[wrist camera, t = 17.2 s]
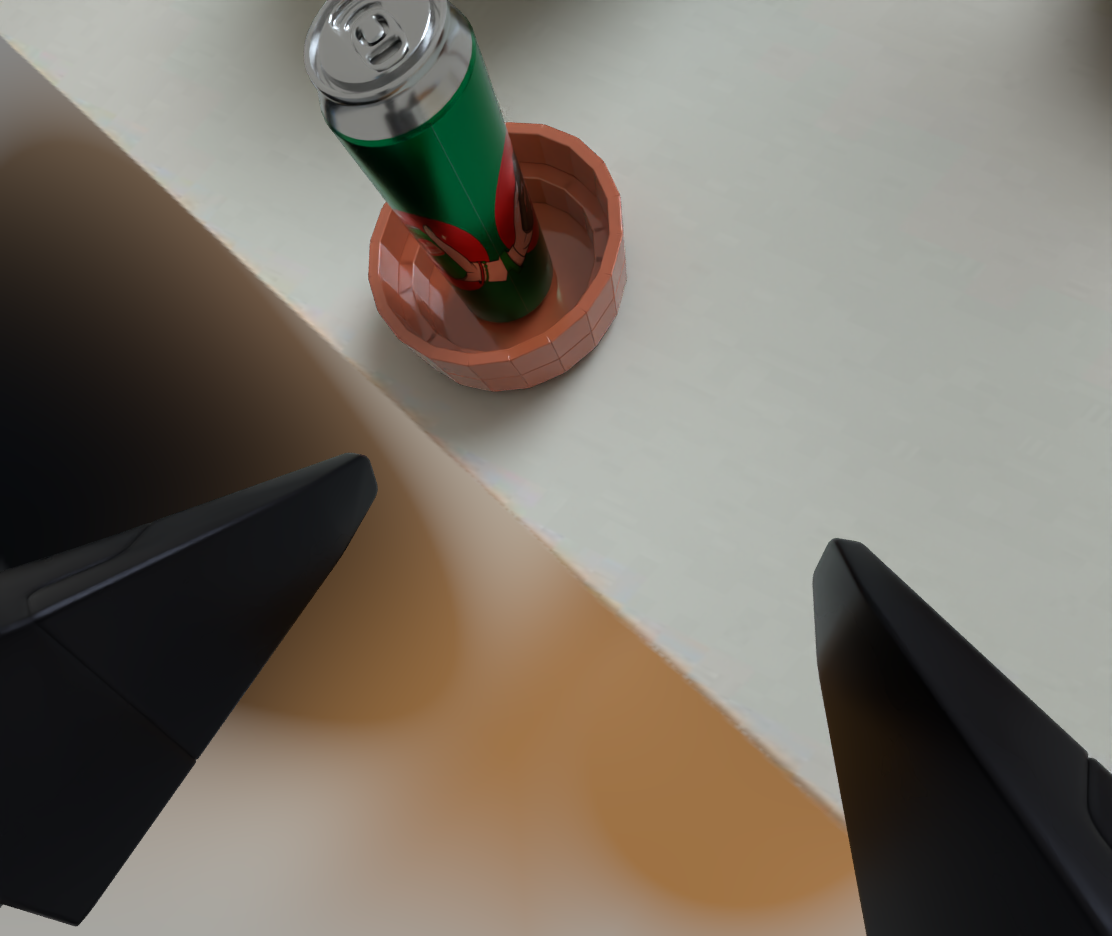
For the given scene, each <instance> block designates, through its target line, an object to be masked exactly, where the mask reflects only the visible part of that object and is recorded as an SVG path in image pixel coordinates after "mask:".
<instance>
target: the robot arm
mask: <svg viewBox="0 0 1112 936" xmlns="http://www.w3.org/2000/svg"><path fill="white" fill-rule="evenodd" d="M377 490H378V488H377V482H376V479H375V476H374V473H373V469H372V466H371V463H370V460H369V459H368V458H367V457H366V456H365V455H361V454H355V453H345V454H342V455H339V456H336V457H333V458H331V459H328V460H325V461H322V462H319V463H317V464H314V465H311V466H308V467H305V468H302V469H300V470H297V471H294V472H291V473H288V474H285V475H283V476H280V477H277V478H274V479H271V480H269V481H266V482H263V483H260V484H257V485H255V486H252V487H249V488H246V489H243V490H241V491H238V492H235V493H232V494H229V495H226V496H223V497H221V498H218V499H215V500H212V501H209V502H207V503H204V504H201V505H198V506H195V507H192V508H190V509H187V510H184V511H181V512H178V513H175V514H172V515H170V516H167V517H164V518H161V519H158V520H156V521H154V522H152V523H151V524H150V523H147V524H144V525H141V526H138V527H136V528H133V529H130V530H127V531H125V532H122V533H118V534H116V535H113V536H110V537H107V538H104V539H101V540H98V541H96V542H92V543H89V544H86V545H83V546H80V547H77V548H74V549H71V550H68V551H64V552H61V553H58V554H55V555H52V556H49V557H46V558H43V559H40V560H36V561H33V562H30V563H27V564H23V565H20V566H17V567H14V568H10V569H7V570H4V571H1V572H0V907H1V906H2V905H3V904H4V905H7V906H11V907H14V908H17V909H20V910H23V911H27V912H30V913H33V914H36V915H40V916H43V917H46V918H50V919H53V920H56V921H59V922H63V923H66V924H69V925H72V926H78V925H79V924H80V923H81V922H82V921H83V920H84V918H85V917H86V916H87V915H88V914H89V912H90V911H91V910H92V908H93V907H94V906H95V904H96V903H97V902H98V900H99V899H100V897H101V896H102V894H103V893H104V891H105V890H106V889H107V887H108V886H109V884H110V883H111V882H112V880H113V879H114V878H115V876H116V875H117V873H118V872H119V870H120V869H121V868H122V866H123V865H124V863H125V862H126V861H127V859H128V858H129V856H130V855H131V853H132V852H133V851H134V849H135V848H136V846H137V845H138V844H139V842H140V841H141V839H142V838H143V836H144V835H145V834H146V832H147V831H148V829H149V828H150V827H151V825H152V824H153V822H154V821H155V820H156V818H157V817H158V815H159V814H160V812H161V811H162V810H163V808H164V807H165V805H166V804H167V803H168V801H169V800H170V798H171V797H172V796H173V794H174V793H175V791H176V790H177V788H178V787H179V786H180V784H181V783H182V781H183V780H184V778H185V777H186V776H187V774H188V773H189V771H190V770H191V769H192V767H193V766H194V764H195V763H196V759H198V758H199V756H200V755H201V754H202V752H203V751H204V750H205V748H206V747H207V745H208V744H209V743H210V741H211V740H212V738H213V737H214V736H215V734H216V733H217V731H218V730H219V729H220V727H221V726H222V724H223V723H224V722H225V720H226V719H227V717H228V716H229V714H230V713H231V712H232V710H233V709H234V707H235V706H236V704H237V703H238V702H239V700H240V699H241V698H242V696H243V695H244V693H245V692H246V690H247V689H248V688H249V686H250V685H251V683H252V682H253V681H254V679H255V678H256V676H257V675H258V674H259V672H260V671H261V669H262V668H263V667H264V665H265V664H266V662H267V661H268V659H269V658H270V656H271V655H272V654H273V652H274V651H275V650H276V648H277V647H278V645H279V644H280V643H281V641H282V640H283V638H284V637H285V635H286V634H287V633H288V631H289V630H290V628H291V627H292V626H293V624H294V623H295V621H296V620H297V618H298V617H299V615H300V614H301V613H302V611H303V610H304V608H305V607H306V606H307V604H308V603H309V602H310V600H311V599H312V597H313V596H314V594H315V593H316V592H317V590H318V589H319V587H320V586H321V585H322V583H323V582H324V580H325V579H326V578H327V576H328V575H329V573H330V572H331V571H332V569H333V568H334V566H335V565H336V563H337V562H338V560H339V559H340V558H341V556H342V555H343V553H344V551H345V550H346V548H347V546H348V545H349V543H350V541H351V539H352V538H353V536H354V534H355V532H356V531H357V529H358V527H359V525H360V523H361V522H362V520H363V518H364V517H365V515H366V513H367V511H368V510H369V508H370V506H371V504H372V502H373V500H374V499H375V497H376V494H377ZM813 601H814V619H815V637H816V654H817V666H818V673H819V679H820V685H821V690H822V696H823V701H824V707H825V712H826V718H827V723H828V728H829V734H830V739H831V745H832V750H833V756H834V761H835V766H836V772H837V777H838V783H839V788H840V794H841V799H842V804H843V810H844V815H845V821H846V826H847V832H848V837H849V842H850V848H851V853H852V859H853V864H854V870H855V875H856V880H857V886H858V891H859V897H860V902H861V908H862V913H863V918H864V924H865V929H866V934H867V936H1112V774H1111V773H1110V772H1109V771H1108V770H1107V769H1106V768H1104V767H1103V766H1102V765H1101V764H1100V763H1099V762H1098V761H1097V760H1095V759H1093V758H1088V753H1087V751H1086V750H1085V749H1084V748H1083V747H1081V746H1080V745H1079V744H1078V743H1077V742H1076V741H1075V740H1074V739H1073V738H1072V737H1071V736H1070V735H1069V734H1067V733H1066V732H1065V731H1064V730H1063V729H1062V728H1061V727H1060V726H1059V725H1058V724H1057V723H1056V722H1055V721H1053V720H1052V719H1051V718H1050V717H1049V716H1048V715H1047V714H1046V713H1045V712H1044V711H1043V710H1042V709H1041V708H1039V707H1038V706H1037V705H1036V704H1035V703H1034V702H1033V701H1032V700H1031V699H1030V698H1029V697H1028V696H1027V695H1025V694H1024V693H1023V692H1022V691H1021V690H1020V689H1019V688H1018V687H1017V686H1016V685H1015V684H1014V683H1012V682H1011V681H1010V680H1009V679H1008V678H1007V677H1006V676H1005V675H1004V674H1003V673H1002V672H1001V671H1000V670H998V669H997V668H996V667H995V666H994V665H993V664H992V663H991V662H990V661H989V660H988V659H987V658H986V657H984V656H983V655H982V654H981V653H980V652H979V651H978V650H977V649H976V648H975V647H974V646H973V645H972V644H970V643H969V642H968V641H967V640H966V639H965V638H964V637H963V636H962V635H961V634H960V633H959V632H958V631H956V630H955V629H954V628H953V627H952V626H951V625H950V624H949V623H948V622H947V621H946V620H945V619H944V618H942V617H941V616H940V615H939V614H938V613H937V612H936V611H935V610H934V609H933V608H932V607H931V606H929V605H928V604H927V603H926V602H925V601H924V600H923V599H922V598H921V597H920V596H919V595H918V594H917V593H915V592H914V591H913V590H912V589H911V588H910V587H909V586H908V585H907V584H906V583H905V582H904V581H903V580H901V579H900V578H899V577H898V576H897V575H896V574H895V573H894V572H893V571H892V570H891V569H890V568H889V567H887V566H886V565H885V564H884V563H883V562H882V561H881V560H880V559H879V558H878V557H877V556H876V555H875V554H873V553H872V552H871V551H870V550H869V549H868V548H867V547H866V546H865V545H863V544H862V543H860V542H857V541H852V540H846V539H840V538H834V539H832V540H831V541H830V542H829V543H828V545H827V547H826V549H825V551H824V553H823V555H822V557H821V559H820V561H819V563H818V565H817V567H816V569H815V571H814V574H813Z"/></svg>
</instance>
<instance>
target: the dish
mask: <svg viewBox="0 0 1112 936" xmlns="http://www.w3.org/2000/svg"><path fill="white" fill-rule="evenodd" d="M505 125H506V128H507V131H508V134H509V137H510V139H511V142H512V145H513V148H514V151H515V154H516V157H517V160H518V163H519V166H520V169H521V172H522V175H523V178H524V180H525V183H526V186H527V189H528V192H529V195H530V198H531V201H532V204H533V207H534V210H535V213H536V216H537V219H538V221H539V224H540V227H541V230H542V233H543V236H544V239H545V242H546V245H547V248H548V251H549V254H550V257H551V260H552V264H553V278H552V283H551V286H550V289H549V291H548V293H547V295H546V297H545V298H544V299H543V301H542V302H541V303H540V304H539V305H538V306H537V307H536V308H535V309H534V310H533V311H532V312H530V313H529V314H527V315H526V316H524V317H522V318H520V319H517V320H514V321H510V322H503V323H496V322H490V321H486V320H483V319H481V318H479V317H477V316H476V315H474V314H473V313H472V312H471V311H470V310H469V309H468V308H467V306H466V305H465V304H464V302H463V301H462V300H461V299H460V297H459V296H458V295H457V293H456V292H455V291H454V289H453V288H452V287H451V285H450V284H449V283H448V282H447V280H446V279H445V278H444V276H443V275H442V274H441V272H440V271H439V270H438V269H437V267H436V266H435V265H434V263H433V262H432V261H431V259H430V258H429V257H428V255H427V254H426V253H425V252H424V250H423V249H422V248H421V246H420V245H419V244H418V242H417V241H416V240H415V239H414V237H413V236H412V235H411V233H410V232H409V231H408V229H407V228H406V227H405V225H404V224H403V223H402V222H401V220H400V219H399V218H398V216H397V215H396V214H395V212H394V211H393V210H392V209H391V207H390V206H389V205H388V203H387V202H385V204H384V205H383V208H382V209H381V212H380V215H379V217H378V220H377V223H376V226H375V229H374V232H373V234H372V237H371V240H370V251H369V272H368V277H369V283H370V286H371V290H372V293H373V296H374V300H375V303H376V307H377V310H378V312H379V314H380V315H381V317H382V318H383V319H384V321H385V322H386V323H387V325H388V326H389V327H390V329H391V330H392V331H393V333H394V334H395V335H396V337H397V338H398V339H399V340H400V341H401V342H402V343H404V344H405V345H406V346H407V347H409V348H410V349H411V350H412V351H413V352H415V353H416V354H417V355H418V356H419V357H421V358H422V359H423V360H424V361H426V362H427V363H428V364H429V365H430V366H432V367H433V368H434V369H436V370H438V371H439V372H441V373H442V374H444V375H445V376H447V377H449V378H450V379H452V380H453V381H455V382H457V383H458V384H461V385H464V386H469V387H474V388H478V389H483V390H487V391H492V392H493V391H495V392H496V391H505V390H514V389H523V388H530V387H533V386H535V385H538V384H540V383H542V382H545V381H547V380H549V379H552V378H554V377H556V376H559V375H561V374H563V373H565V372H567V371H568V370H569V369H570V368H571V367H573V366H574V365H575V364H576V363H577V362H579V361H580V360H581V359H582V358H583V357H585V356H586V355H587V354H588V353H589V352H591V351H592V350H593V349H594V348H595V347H596V346H597V345H598V343H599V342H600V340H601V338H602V337H603V335H604V334H605V332H606V331H607V329H608V328H609V326H610V325H611V323H612V322H613V320H614V319H615V317H616V315H617V313H618V310H619V306H620V303H621V299H622V295H623V292H624V288H625V285H626V281H627V280H626V279H627V274H626V259H625V245H624V232H623V220H622V208H621V197H620V194H619V192H618V190H617V187H616V185H615V183H614V181H613V179H612V177H611V175H610V173H609V171H608V169H607V166H606V164H605V163H604V161H603V160H602V159H601V158H600V157H599V156H597V155H596V154H595V153H594V152H593V151H592V150H591V149H590V148H589V147H588V146H587V145H585V144H584V143H583V142H582V141H581V140H580V139H579V138H577V137H575V136H573V135H570V134H567V133H565V132H562V131H560V130H557V129H555V128H552V127H550V126H547V125H543V124H531V123H512V122H507V123H506V122H505Z"/></svg>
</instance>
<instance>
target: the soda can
mask: <svg viewBox="0 0 1112 936" xmlns="http://www.w3.org/2000/svg"><path fill="white" fill-rule="evenodd" d="M304 63H305V68H306V71H307V73H308V76H309V78H310V80H311V82H312V84H313V85H314V86H315V88H316V89H317V90H318V96H319V102H320V107H321V112H322V115H323V117H324V119H325V122H326V123H327V125H328V126H329V128H330V129H331V130H332V132H333V133H334V134H335V136H336V137H337V138H338V139H339V141H340V142H341V143H342V145H343V146H344V147H345V149H346V150H347V151H348V152H349V154H350V155H351V156H352V158H353V159H354V160H355V162H356V163H357V164H358V166H359V167H360V168H361V169H362V171H363V172H364V173H365V175H366V176H367V177H368V179H369V180H370V181H371V182H372V184H373V185H374V186H375V188H376V189H377V190H378V192H379V193H380V194H381V196H382V197H383V198H384V199H385V201H386V202H387V203H388V205H389V206H390V207H391V209H392V210H393V211H394V212H395V214H396V215H397V216H398V218H399V219H400V220H401V222H402V223H403V224H404V225H405V227H406V228H407V229H408V231H409V232H410V233H411V235H412V236H413V237H414V239H415V240H416V241H417V242H418V244H419V245H420V246H421V248H422V249H423V250H424V252H425V253H426V254H427V255H428V257H429V258H430V259H431V261H432V262H433V263H434V265H435V266H436V267H437V269H438V270H439V271H440V272H441V274H442V275H443V276H444V278H445V279H446V280H447V282H448V283H449V284H450V285H451V287H452V288H453V289H454V291H455V292H456V293H457V295H458V296H459V297H460V299H461V300H462V301H463V302H464V304H465V305H466V306H467V308H468V309H469V310H470V311H471V312H472V313H473V314H474V315H476V316H477V317H479V318H481V319H483V320H486V321H490V322H496V323H503V322H510V321H514V320H517V319H520V318H522V317H524V316H526V315H527V314H529V313H530V312H532V311H533V310H534V309H535V308H536V307H537V306H538V305H539V304H540V303H541V302H542V301H543V299H544V298H545V297H546V295H547V293H548V291H549V289H550V286H551V283H552V278H553V264H552V260H551V257H550V254H549V251H548V248H547V245H546V242H545V239H544V236H543V233H542V230H541V227H540V224H539V221H538V219H537V216H536V213H535V210H534V207H533V204H532V201H531V198H530V195H529V192H528V189H527V186H526V183H525V180H524V178H523V175H522V172H521V169H520V166H519V163H518V160H517V157H516V154H515V151H514V148H513V145H512V142H511V139H510V137H509V134H508V131H507V128H506V125H505V122H504V119H503V116H502V113H501V110H500V107H499V104H498V101H497V99H496V96H495V93H494V90H493V87H492V84H491V81H490V78H489V75H488V72H487V69H486V66H485V63H484V60H483V58H482V55H481V52H480V49H479V46H478V43H477V40H476V37H475V34H474V31H473V28H472V26H471V24H470V23H469V21H468V19H467V18H466V16H465V15H464V14H463V13H462V12H461V11H460V10H459V9H458V8H456V7H455V6H454V5H453V4H452V3H450V2H449V1H448V0H327V1H326V2H325V3H324V4H323V6H322V7H321V8H320V10H319V11H318V13H317V14H316V16H315V18H314V19H313V21H312V23H311V26H310V28H309V30H308V33H307V37H306V40H305V46H304Z"/></svg>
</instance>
